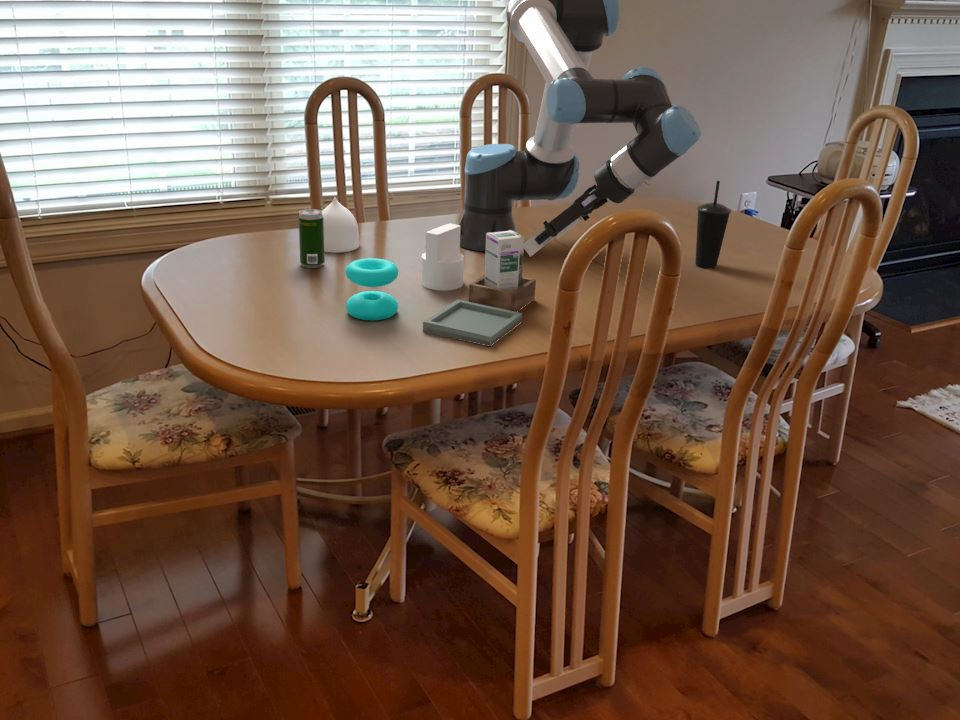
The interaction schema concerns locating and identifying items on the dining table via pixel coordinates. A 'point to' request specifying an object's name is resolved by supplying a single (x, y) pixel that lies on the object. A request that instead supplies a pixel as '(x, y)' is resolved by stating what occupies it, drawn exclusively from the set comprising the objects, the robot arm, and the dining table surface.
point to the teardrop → (339, 229)
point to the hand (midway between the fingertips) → (540, 241)
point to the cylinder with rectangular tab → (442, 259)
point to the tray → (472, 322)
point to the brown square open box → (502, 295)
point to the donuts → (372, 302)
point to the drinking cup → (710, 231)
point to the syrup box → (504, 260)
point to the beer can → (311, 238)
